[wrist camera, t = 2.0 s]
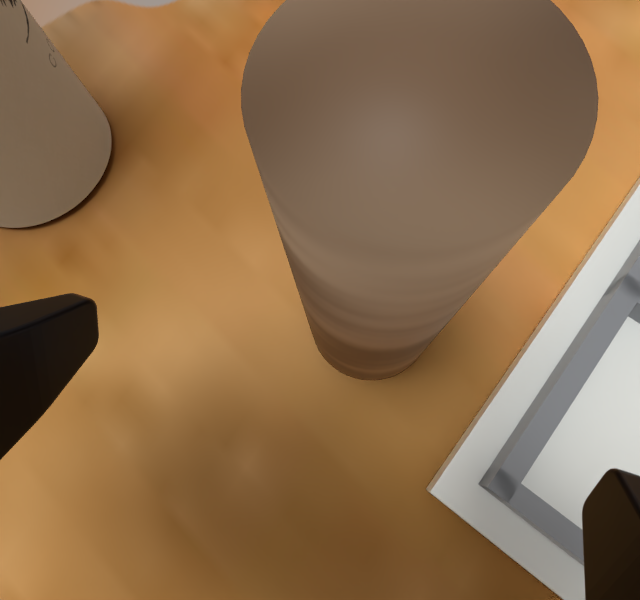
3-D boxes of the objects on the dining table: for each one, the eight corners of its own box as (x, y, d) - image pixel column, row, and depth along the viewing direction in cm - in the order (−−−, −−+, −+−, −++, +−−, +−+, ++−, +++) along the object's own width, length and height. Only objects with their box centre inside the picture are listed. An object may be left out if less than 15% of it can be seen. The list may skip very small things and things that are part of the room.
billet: (449, 352, 20) (673, 162, 6) (337, 398, 19) (316, 304, 6) (399, 249, 21) (490, -88, 8) (294, 290, 21) (197, 18, 7)
